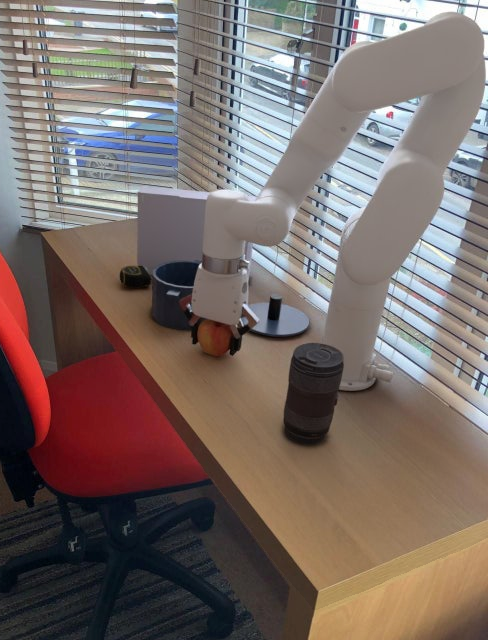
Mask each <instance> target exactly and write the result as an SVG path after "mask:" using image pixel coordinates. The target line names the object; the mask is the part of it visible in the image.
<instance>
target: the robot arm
mask: <svg viewBox="0 0 488 640" xmlns="http://www.w3.org/2000/svg"><path fill="white" fill-rule="evenodd" d="M484 52H485V37H484V33H483V31H482V28H481V27H480V26H479V24H478V23H477V22H476V21H475V20H473V18H471V17H470V16H467V15H465V14H464V13H462V12H461V13H460V12H458V11H445V12H441V13H438V14H436V15H434V16H432V17H431V18H429V19H428V20H427V21H426V22H425V23H424V24H423V25H420V26H418V27H416V28H413V29H410V30H407V31H405V32H402V33H401V32H400V33H399V34H395V35H393V36H390V37H387V38H383V39H381V40H377V41H371V40H370V41H369V40H362V41H361V40H360V41H358V42H355V43H353V44H351V45H349V46H348V47H347V48H346V49H345V50H344V51H343V52H342V53H341V55H340V56H339V57H338V59H337V61H336V62H335V64H334V65H333V67H332V69H331V70H330V72H329V74H328V75H327V77H326V79H325V80H324V82H323V84H322V85H321V87H320V89H319V90H318V92H317V93H316V95H315V97H314V98H313V100H312V102H311V103H310V105H309V106H308V109H307V110H306V112H305V113H304V114H303V116H302V118H301V120H300V121H299V122H298V125H297V126H296V128H294V131H293V133H292V135H291V136H290V138H289V139H290V140H289V142H288V144H287V147H286V149H285V150H284V152H283V154H282V156H281V157H280V159H279V161H278V163H277V165H276V166H275V168H274V169H273V171H272V172H271V174H270V176H269V177H268V179H267V181H266V182H265V183H264V185H263V187H262V189H261V190H260V191H259V193H258V195H257V196H256V197H257V198H256V200H255V201H253V202H249V199H248V197H247V196H248V195H246V194H245V193H244V192H241V191H238V190H236V189H235V190H234V189H217V190H213V191H211V193H210V194H209V195H208V197H207V199H206V207H205V223H204V238H203V252H202V263H201V264H200V265H199V267H198V270H197V273H196V277H195V281H194V287H193V293H192V294H190V295H188V296H186V297H184V298H182V299H181V300H180V301H179V304H180V306H181V308H182V309H183V310H184V314H185V316H186V317H187V318H188V320H189V324H190V325H191V330H190V338H191V344H192V345H194V346H195V345H197V344H199V341H198V337H197V333H198V328H199V325H200V324H201V322H203V321H201V318H202V317H203V318H206V319H210V320H214V321H217V322H221V323H224V324H228V325H230V328H231V330H232V332H233V336H232V337H231V341H230V349H229V351H228V352H229V353H228V354H229V356H231V357H233V356H235V354H236V353H238V352H240V351H241V349H242V341H243V336H244V335H246V334H248V333H249V332H251V329H252V328H253V327H254V326H255V325H257V324H258V323H259V318H258V317H257V316H256V315H255V314H254V313H253V312H252V311H251V310H250V308H249V307H248V305H249V281H248V276H247V271H246V270H245V268H246V269H249V268H250V269H251V266H250V265H252V262H251V263H250V262H249V261H247V260H245V255H244V252H245V242H246V241H248V242H251V243H253V245H257V246H261V247H267V248H268V247H275V246H278V245H280V244H281V243H282V242H284V241H285V240H286V238H287V237H288V235H289V233H290V230H291V227H292V224H293V220H294V218H295V216H296V214H297V213H298V211H299V209H300V208H301V206H302V204H303V203H304V202H305V200H306V199H307V197H308V195H309V194H310V193H311V191H312V190H313V188H314V186H315V185H316V183H317V182H318V181H319V180H320V179H321V177H322V176H323V175H324V174H325V173H326V172H328V170H330V169H331V168H333V167H334V166H335V165H336V164H337V163H338V162H339V161H340V160H341V158H342V157H343V155H344V153H345V152H346V151H347V149H348V148H349V146H350V145H351V144H352V142H353V140H354V138H355V137H356V136H357V134H358V133H359V131H360V129H361V128H362V127H363V125H364V124H365V122H366V121H367V119H368V118H369V116H370V115H371V114H372V112H373V111H376V110H381V109H385V108H388V107H392V106H395V105H396V106H397V105H399V104H402V103H405V102H408V101H411V100H414V99H419V98H420V100H419V102H418V105H417V107H416V108H415V110H414V112H413V114H412V116H411V117H410V119H409V121H408V123H407V125H406V127H405V128H404V130H403V132H402V133H401V135H400V136H399V139H398V140H397V142H396V143H395V145H394V147H393V149H392V150H391V152H389V155H388V156H387V157H386V159H385V160H384V162H383V163H382V165H381V166H380V168H379V171H378V173H377V178H376V188H375V190H374V192H373V194H372V195H371V197H370V199H369V201H368V203H367V204H366V205H365V206H363V207H360V208H359V209H356V210H355V211H354V212H353V213H352V214H351V215H350V216H349V217H348V218H347V219H346V221H345V223H344V224H343V227H342V231H341V234H340V239H339V245H338V246H339V248H338V254H337V260H336V266H335V271H334V275H333V276H334V277H333V282H332V287H331V292H330V297H329V302H328V308H327V313H326V318H325V323H324V329H323V335H322V339H321V344H326V345H329V346H332V347H334V348H336V349H338V350H339V351H340V352H341V353H342V354H343V356H344V360H343V363H344V368H343V373H342V379H341V383H340V386H339V390H340V391H345V392H346V391H347V392H348V391H349V392H353V391H354V392H355V391H363V390H366V389H368V388H370V387H371V386H373V385H374V383H375V382H376V379H378V380H381V381H384V382H387V383H392V380H393V376H394V372H393V371H390V368H391V366H390V365H388V364H381V363H379V362H378V361H376V357H377V354H376V353H374V350H375V346H376V342H377V337H378V334H379V330H380V325H381V321H382V317H383V312H384V309H385V305H386V302H387V298H388V294H389V290H390V285H391V280H392V277H393V276H394V275H395V274H397V272H398V271H399V270H400V268H401V267H402V266H403V264H404V263H405V261H406V260H407V259H408V257H409V256H410V254H411V253H412V251H413V250H414V248H415V247H416V245H417V244H418V242H419V241H420V240H421V238H422V236H423V235H424V233H425V232H426V230H427V228H428V227H429V226H430V224H431V223H432V221H433V220H434V218H435V216H436V215H437V213H438V211H439V209H440V207H441V205H442V201H443V199H444V194H445V180H444V175H445V172H446V170H447V168H448V166H449V165H450V163H451V161H452V160H453V158H454V156H455V155H456V154H457V152H458V150H459V149H460V147H461V145H462V143H463V142H464V140H465V138H466V136H467V135H468V133H469V132H470V130H471V128H472V127H473V124H474V122H475V120H476V119H477V117H478V115H479V111H480V110H481V106H482V103H483V100H484V95H485V90H486V82H487V81H486V80H487V78H486V77H487V68H486V58H485V55H484ZM190 302H191V307H190V304H189V303H190ZM244 317H246V319H247V320H248V323H247V324H246V325H243V323H242V320H241V318H244ZM339 390H338V391H339Z"/></svg>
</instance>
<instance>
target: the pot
mask: <svg viewBox="0 0 488 640" xmlns="http://www.w3.org/2000/svg"><path fill="white" fill-rule="evenodd" d="M201 263H202V261H199V260H194V261H171V262H166V263H163V264H160V265H158V266H156V267H155V268H154V269H153V275H151V317H152V319H153V320H154V321H155V322H157V323H158V324H160V325H161V326H164V327H167V328H169V329H175V330H184V331H191V325H190V324H189V320H188V318H187V317H186V316H185V314H184V310H183V309H182V308H181V306H180V304H179V301H180V300H181V299H182V298H184V297H186V296H188V295H190V294H192V293H193V287H194V281H195V277H196V273H197V270H198V267H199V265H200V264H201ZM189 304H190V307H191V302H190V303H189ZM204 320H206V318H203V317H202V318H201V321H204Z"/></svg>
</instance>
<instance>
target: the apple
mask: <svg viewBox="0 0 488 640" xmlns="http://www.w3.org/2000/svg"><path fill="white" fill-rule="evenodd" d="M232 336H233V332H232V330H231V328H230V325H228V324H224V323H221V322H217V321H214V320H210V319H206V320H204V321H203V322H201V324H200V325H199V328H198V333H197V337H198V341H199V342H198V344H199V346H200V348H201V350H203V352H204V353H206V354H207V355H208V354H209V355H212V356H215V357H222V356H224V355H225V354H227V353H228V352H230V341H231V337H232Z"/></svg>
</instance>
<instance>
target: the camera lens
mask: <svg viewBox="0 0 488 640" xmlns="http://www.w3.org/2000/svg"><path fill="white" fill-rule="evenodd" d="M343 360H344V356H343V354H342V353H341V352H340V351H339V350H338V349H336V348H334V347H332V346H329V345H326V344H322V342H307V343H302V344H300V345H297V346H296V347H295V348H294V349H293V353H292V356H291V358H290V363H289V371H288V385H287V392H286V398H285V402H284V408H283V425H284V433H285V436H287V438H288V439H289V440H292V441H293V442H294V443H297V444H301V445H304V446H307V445H308V446H313V445H318V444H319V443H321V442H323V440H324V439H325V438H326V435H327V434H328V433H329V430H330V429H331V428H330V427H331V424H332V422H333V419H334V414H335V407H336V406H338V401H339V393H338V392H339V386H340V383H341V379H342V373H343V368H344V363H343Z"/></svg>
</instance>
